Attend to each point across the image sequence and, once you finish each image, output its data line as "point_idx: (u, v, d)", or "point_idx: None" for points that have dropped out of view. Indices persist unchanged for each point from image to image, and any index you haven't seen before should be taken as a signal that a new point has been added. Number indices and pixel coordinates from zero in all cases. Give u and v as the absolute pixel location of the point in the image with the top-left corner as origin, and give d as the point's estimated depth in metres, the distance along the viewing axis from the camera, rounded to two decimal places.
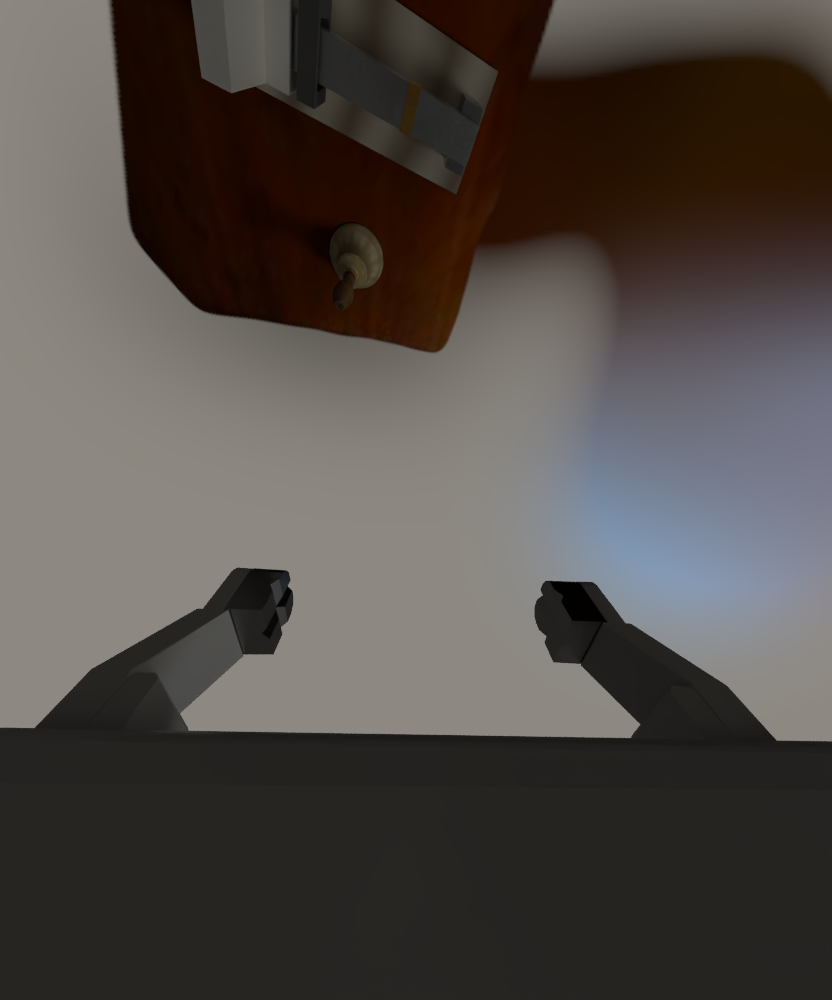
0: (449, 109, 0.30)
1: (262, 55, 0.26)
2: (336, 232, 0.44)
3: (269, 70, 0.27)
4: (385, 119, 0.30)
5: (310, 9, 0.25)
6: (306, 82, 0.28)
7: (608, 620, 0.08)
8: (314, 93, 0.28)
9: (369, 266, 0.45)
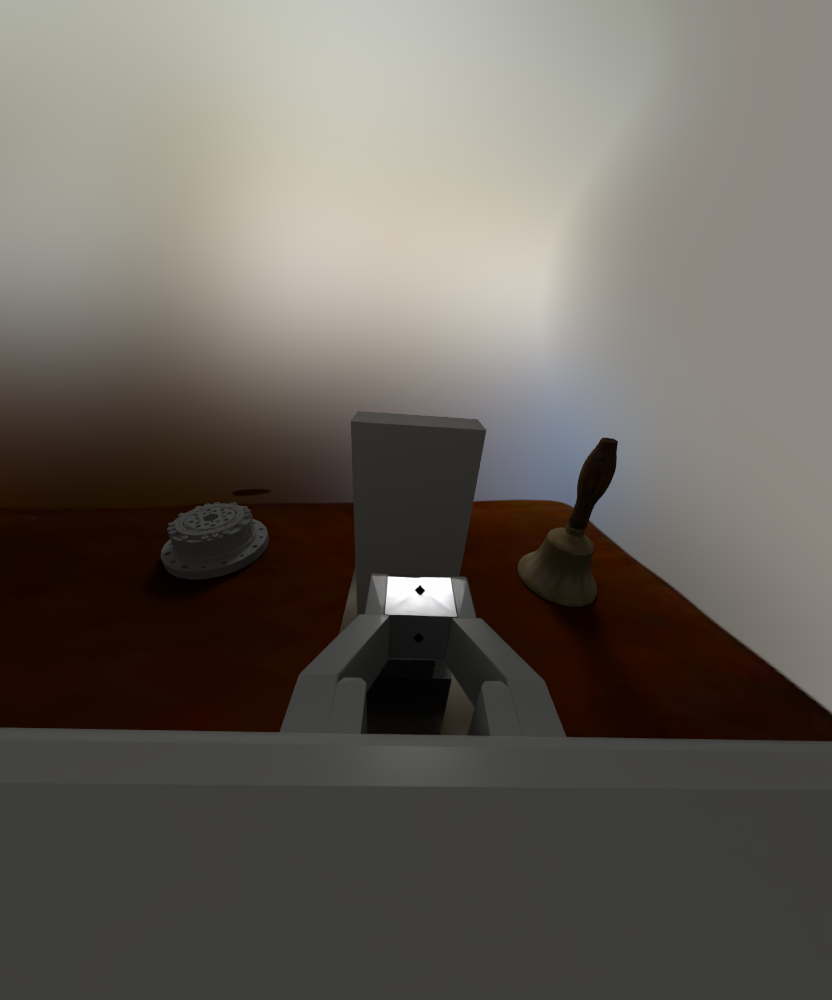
0: None
1: None
2: (550, 597, 0.30)
3: None
4: None
5: None
6: None
7: (459, 615, 0.08)
8: None
9: None
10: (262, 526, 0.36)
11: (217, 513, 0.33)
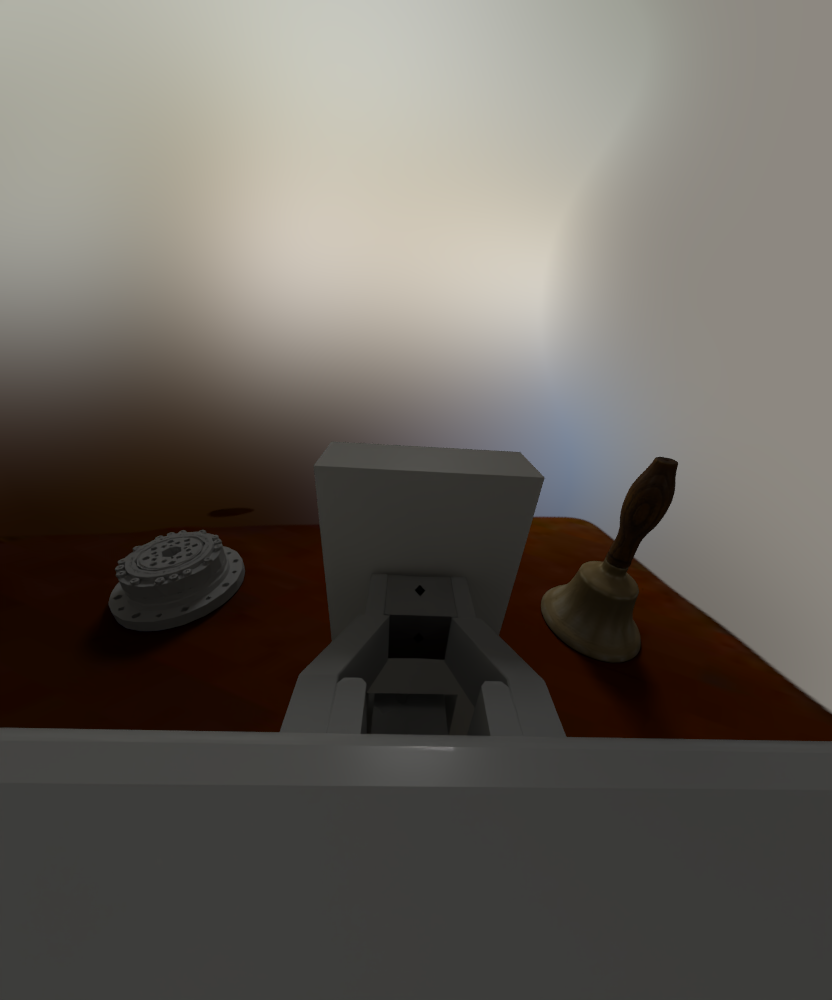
0: None
1: None
2: (585, 649, 0.25)
3: None
4: None
5: None
6: None
7: (459, 615, 0.08)
8: None
9: None
10: (237, 557, 0.31)
11: (180, 545, 0.27)
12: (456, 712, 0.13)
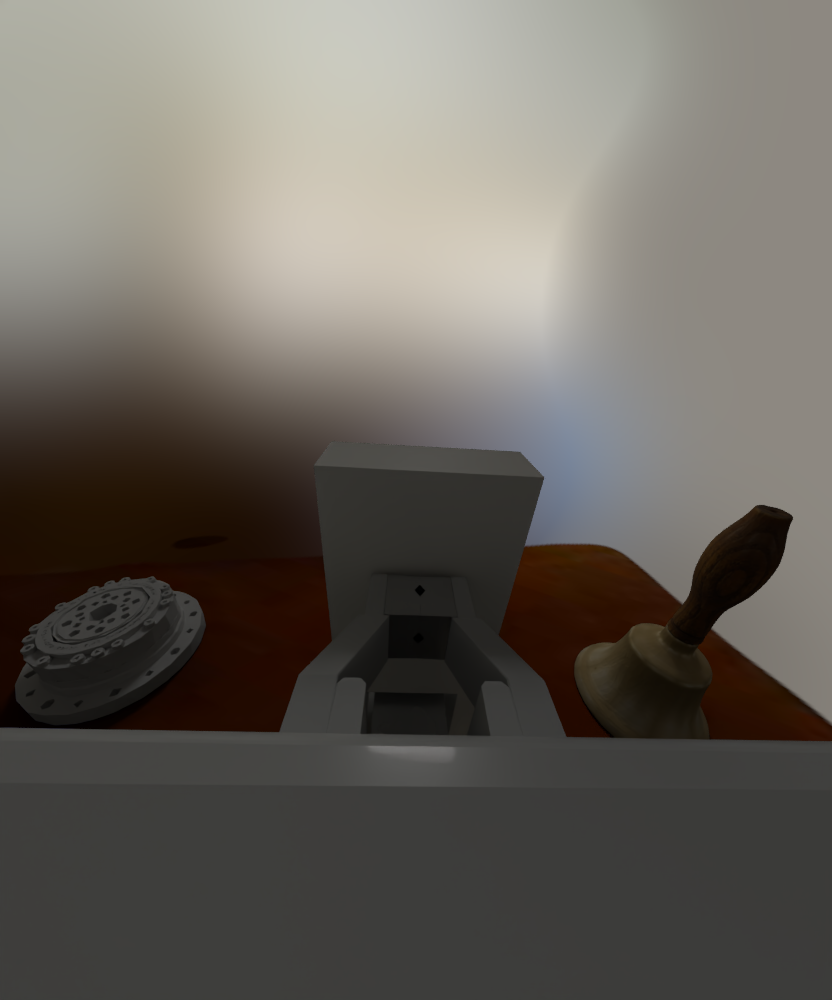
0: None
1: None
2: None
3: None
4: None
5: None
6: None
7: (459, 615, 0.08)
8: None
9: None
10: (197, 608, 0.25)
11: (117, 602, 0.21)
12: (456, 711, 0.13)
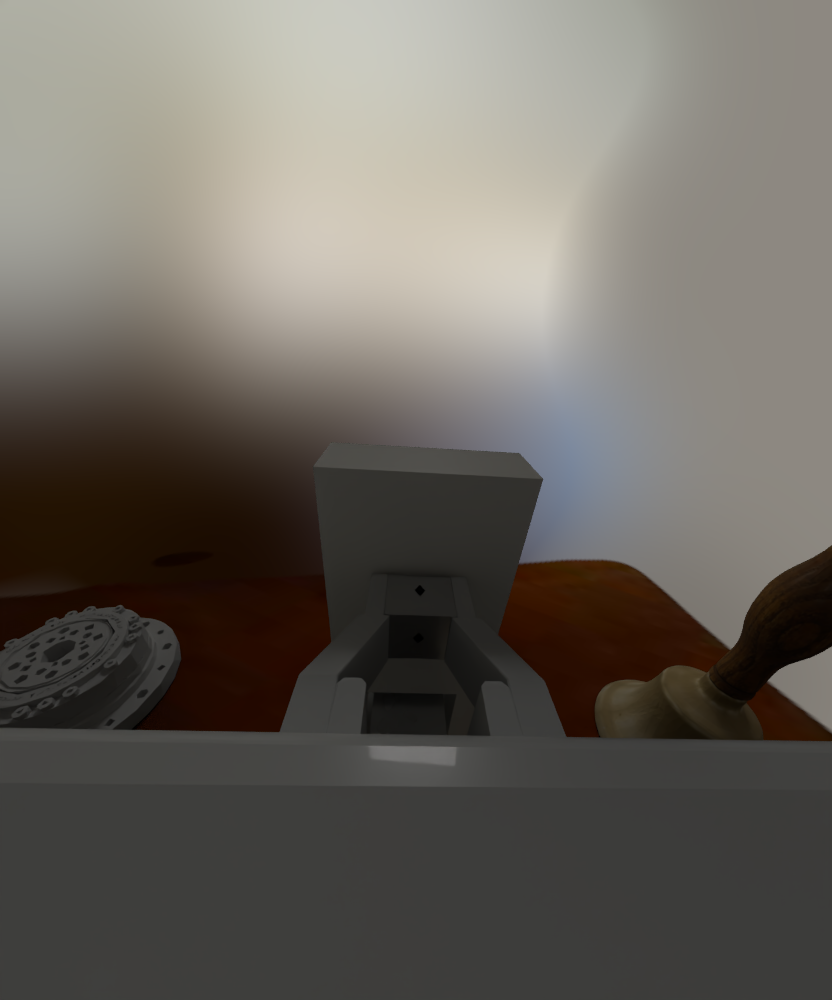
0: None
1: None
2: None
3: None
4: None
5: None
6: None
7: (459, 615, 0.08)
8: None
9: None
10: (171, 639, 0.22)
11: (76, 638, 0.19)
12: (455, 711, 0.13)
